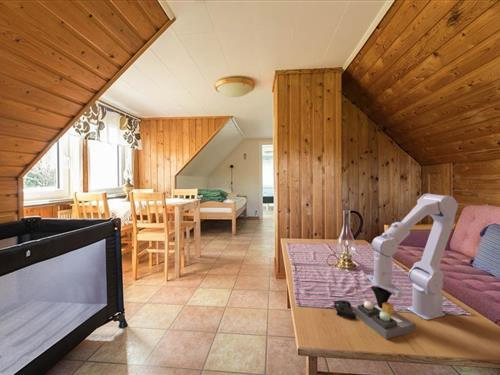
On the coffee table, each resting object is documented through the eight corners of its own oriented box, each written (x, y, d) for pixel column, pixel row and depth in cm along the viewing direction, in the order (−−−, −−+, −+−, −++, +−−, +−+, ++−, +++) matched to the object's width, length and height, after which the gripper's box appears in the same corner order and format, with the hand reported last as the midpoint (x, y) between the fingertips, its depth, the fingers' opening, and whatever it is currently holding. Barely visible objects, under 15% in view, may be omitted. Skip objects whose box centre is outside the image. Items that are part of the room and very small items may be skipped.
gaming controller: (358, 318, 87) (345, 305, 88) (346, 327, 88) (334, 314, 88) (351, 303, 97) (340, 292, 97) (341, 312, 98) (330, 300, 98)
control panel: (380, 308, 94) (380, 298, 94) (414, 331, 81) (415, 319, 81) (354, 314, 91) (354, 304, 90) (386, 339, 77) (386, 327, 77)
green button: (384, 316, 83) (384, 310, 83) (392, 321, 80) (392, 315, 80) (377, 317, 82) (377, 312, 82) (384, 322, 79) (385, 317, 79)
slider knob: (387, 309, 88) (387, 301, 88) (393, 313, 86) (393, 305, 86) (382, 311, 87) (382, 302, 87) (387, 314, 85) (388, 306, 85)
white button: (368, 305, 90) (368, 300, 90) (375, 309, 87) (375, 304, 87) (362, 306, 89) (362, 301, 89) (368, 311, 86) (368, 306, 86)
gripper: (359, 264, 94) (358, 299, 95) (391, 280, 80) (389, 320, 81) (373, 262, 96) (373, 296, 97) (407, 277, 82) (406, 316, 83)
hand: (381, 307), depth 89 cm, fingers closed
